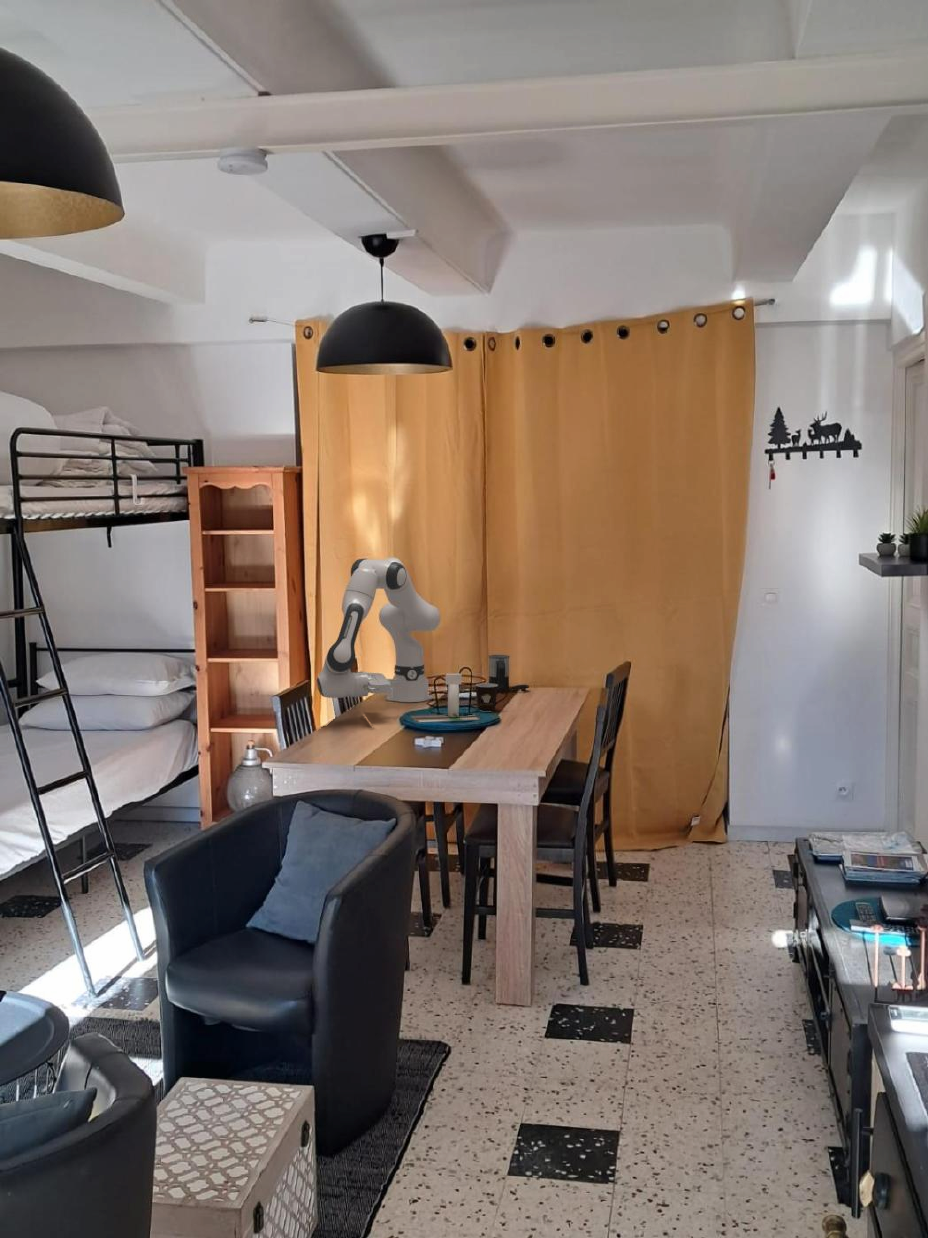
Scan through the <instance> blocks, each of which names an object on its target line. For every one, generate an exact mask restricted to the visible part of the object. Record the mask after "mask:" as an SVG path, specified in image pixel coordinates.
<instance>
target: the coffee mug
mask: <svg viewBox="0 0 928 1238" xmlns="http://www.w3.org/2000/svg"><path fill="white" fill-rule="evenodd" d="M497 689H498V685H497V684H490V683H489V682H488V683H487V682H485V683H484V682H482V683H477V684H475V692H476V702H477V710H478V709H479V710H482V711H492V712H491V713H494V712H495V711H496V705H498V704H499V703H501V702H502V701H504V700H505V699H506V698H507V696H508V691H507V690H505V689H503V688H502V689H499V690H497ZM500 690H504V691H505V696H504V697H503V698H501V699H500V700H498V701H497V698H498V697H497V696H498V694H499V691H500Z"/></svg>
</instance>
